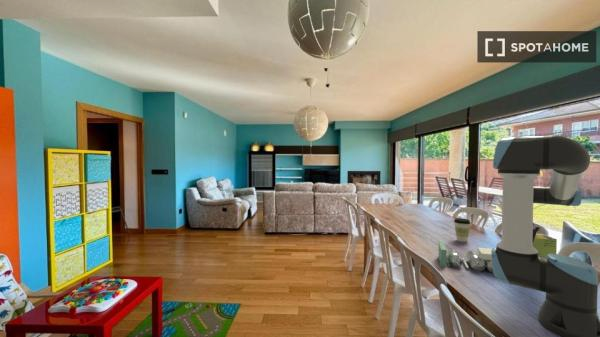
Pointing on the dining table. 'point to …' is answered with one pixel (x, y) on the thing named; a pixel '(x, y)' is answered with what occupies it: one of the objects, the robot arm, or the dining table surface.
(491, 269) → the roller bed
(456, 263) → the roller
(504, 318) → the dining table surface
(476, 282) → the dining table surface
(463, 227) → the coffee cup
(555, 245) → the protein box
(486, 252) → the slab
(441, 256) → the bar
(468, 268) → the cradle
